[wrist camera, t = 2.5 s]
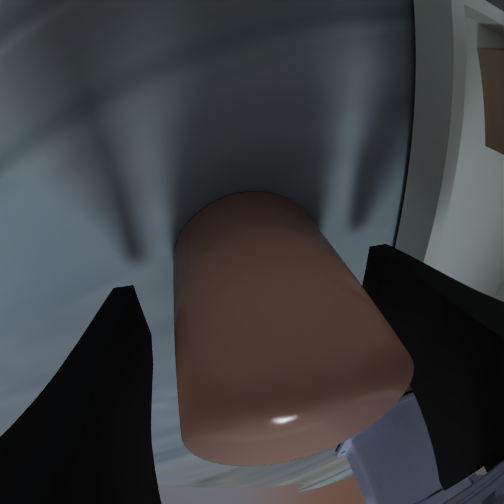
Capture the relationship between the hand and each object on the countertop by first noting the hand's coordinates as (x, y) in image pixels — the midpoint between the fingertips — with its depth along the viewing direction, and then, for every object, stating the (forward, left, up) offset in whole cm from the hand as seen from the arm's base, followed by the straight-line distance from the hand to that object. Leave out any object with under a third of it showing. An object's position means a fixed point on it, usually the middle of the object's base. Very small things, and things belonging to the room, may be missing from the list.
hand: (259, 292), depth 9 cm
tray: (+1, -11, -2) cm, 11 cm away
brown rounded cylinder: (0, 0, -2) cm, 2 cm away
